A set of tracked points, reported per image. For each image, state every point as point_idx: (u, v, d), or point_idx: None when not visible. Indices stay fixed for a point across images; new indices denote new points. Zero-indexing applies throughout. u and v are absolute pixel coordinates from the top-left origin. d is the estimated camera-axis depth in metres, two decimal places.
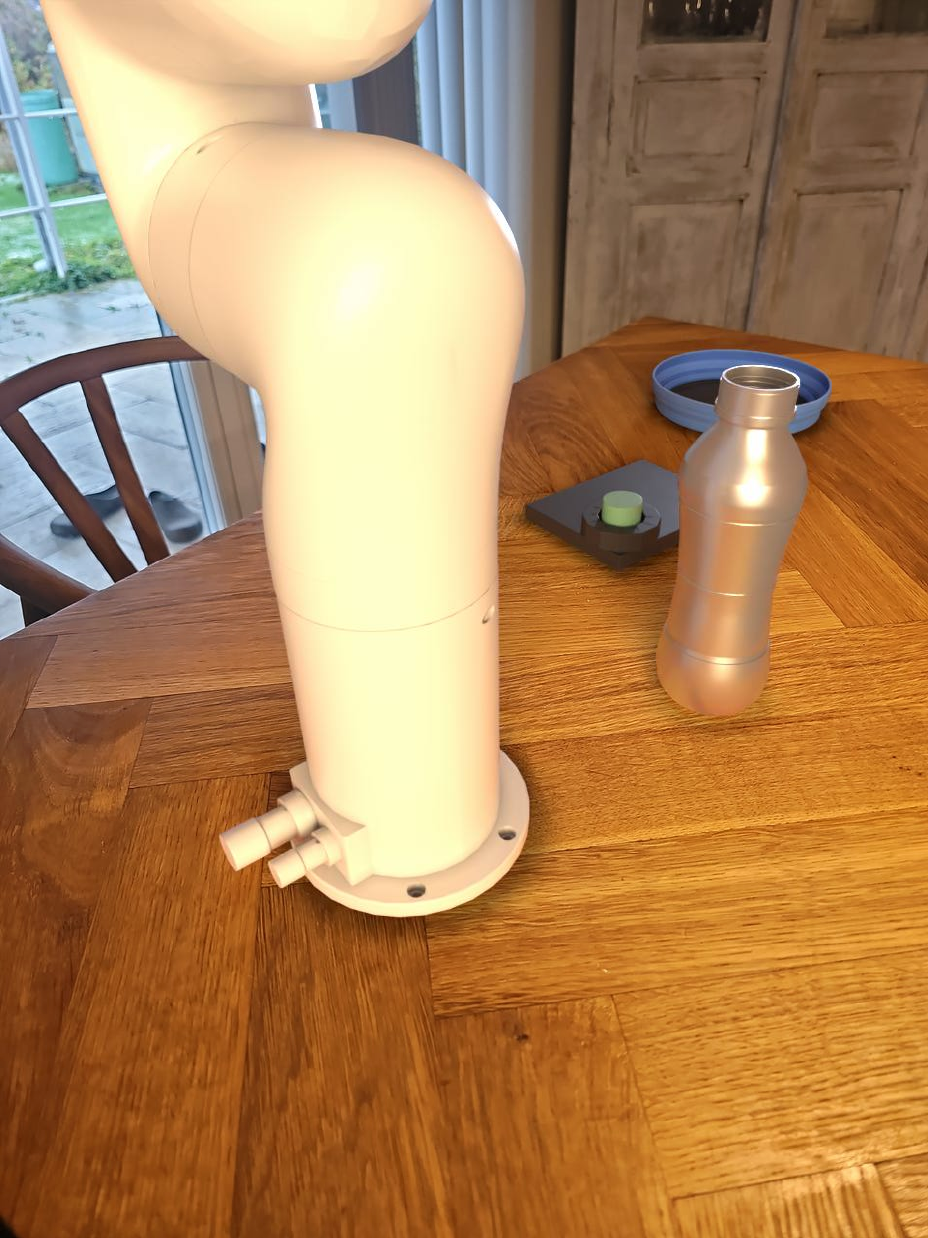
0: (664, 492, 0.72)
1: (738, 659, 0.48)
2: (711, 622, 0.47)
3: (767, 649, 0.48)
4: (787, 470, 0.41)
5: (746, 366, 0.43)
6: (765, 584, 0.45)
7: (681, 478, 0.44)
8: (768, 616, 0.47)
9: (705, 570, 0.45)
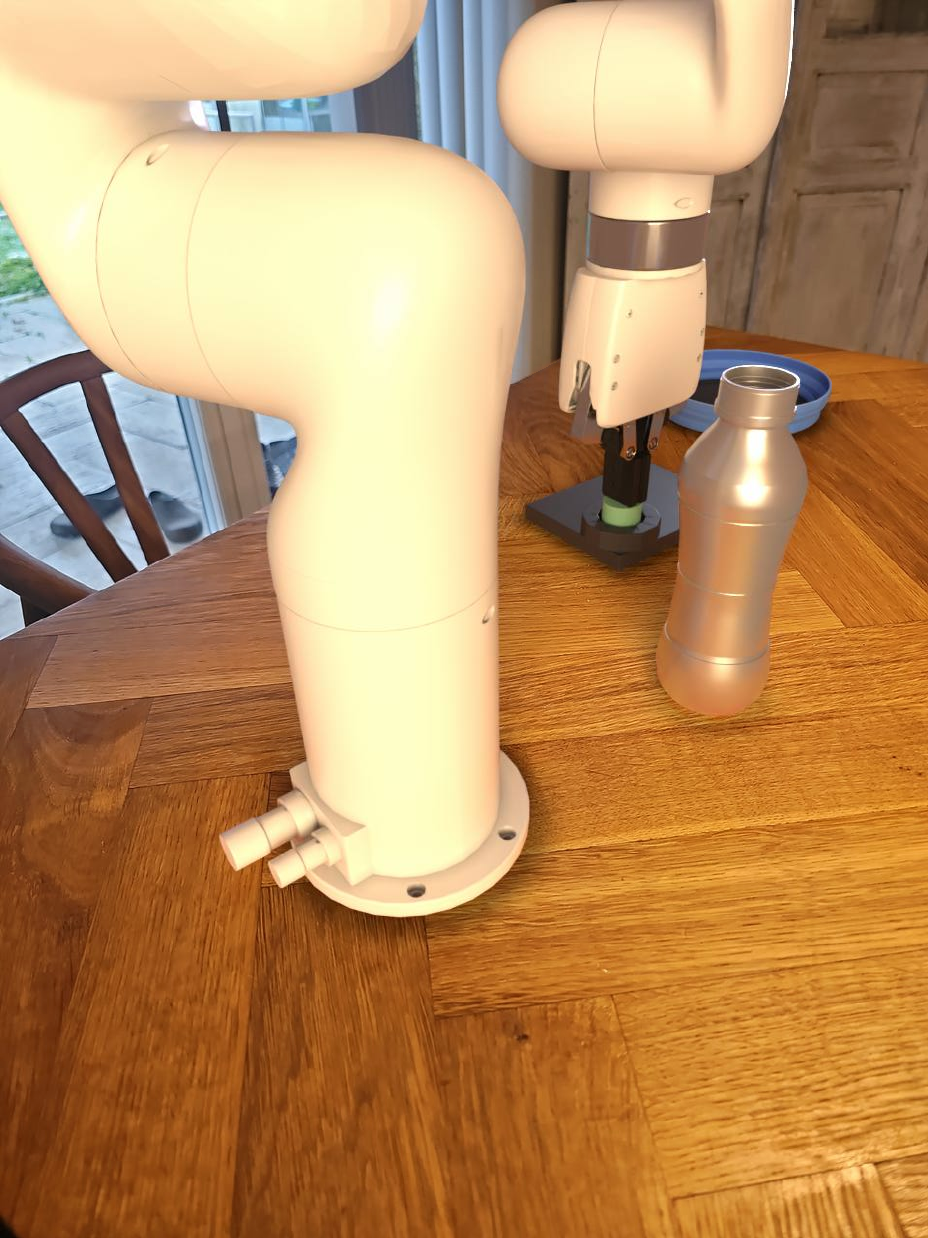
0: (664, 492, 0.72)
1: (738, 659, 0.48)
2: (711, 622, 0.47)
3: (767, 649, 0.48)
4: (787, 470, 0.41)
5: (745, 366, 0.43)
6: (765, 584, 0.45)
7: (681, 478, 0.44)
8: (768, 616, 0.47)
9: (705, 570, 0.45)
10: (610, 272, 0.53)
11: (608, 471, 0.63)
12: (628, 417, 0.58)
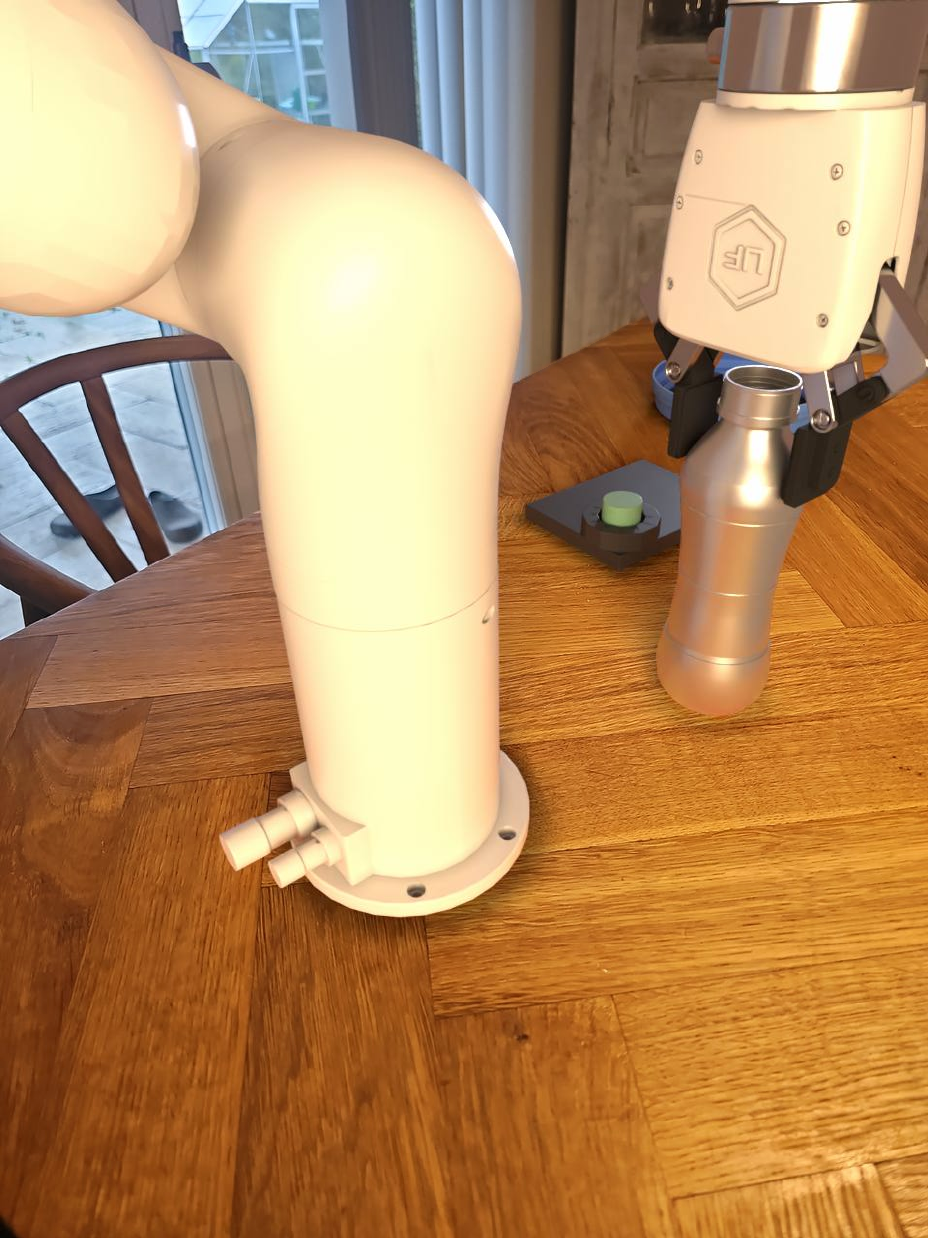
0: (664, 492, 0.72)
1: (738, 659, 0.48)
2: (712, 623, 0.47)
3: (767, 649, 0.48)
4: None
5: (749, 366, 0.42)
6: (766, 585, 0.45)
7: (683, 478, 0.44)
8: (769, 616, 0.47)
9: (706, 570, 0.45)
10: (907, 96, 0.32)
11: (830, 458, 0.39)
12: None
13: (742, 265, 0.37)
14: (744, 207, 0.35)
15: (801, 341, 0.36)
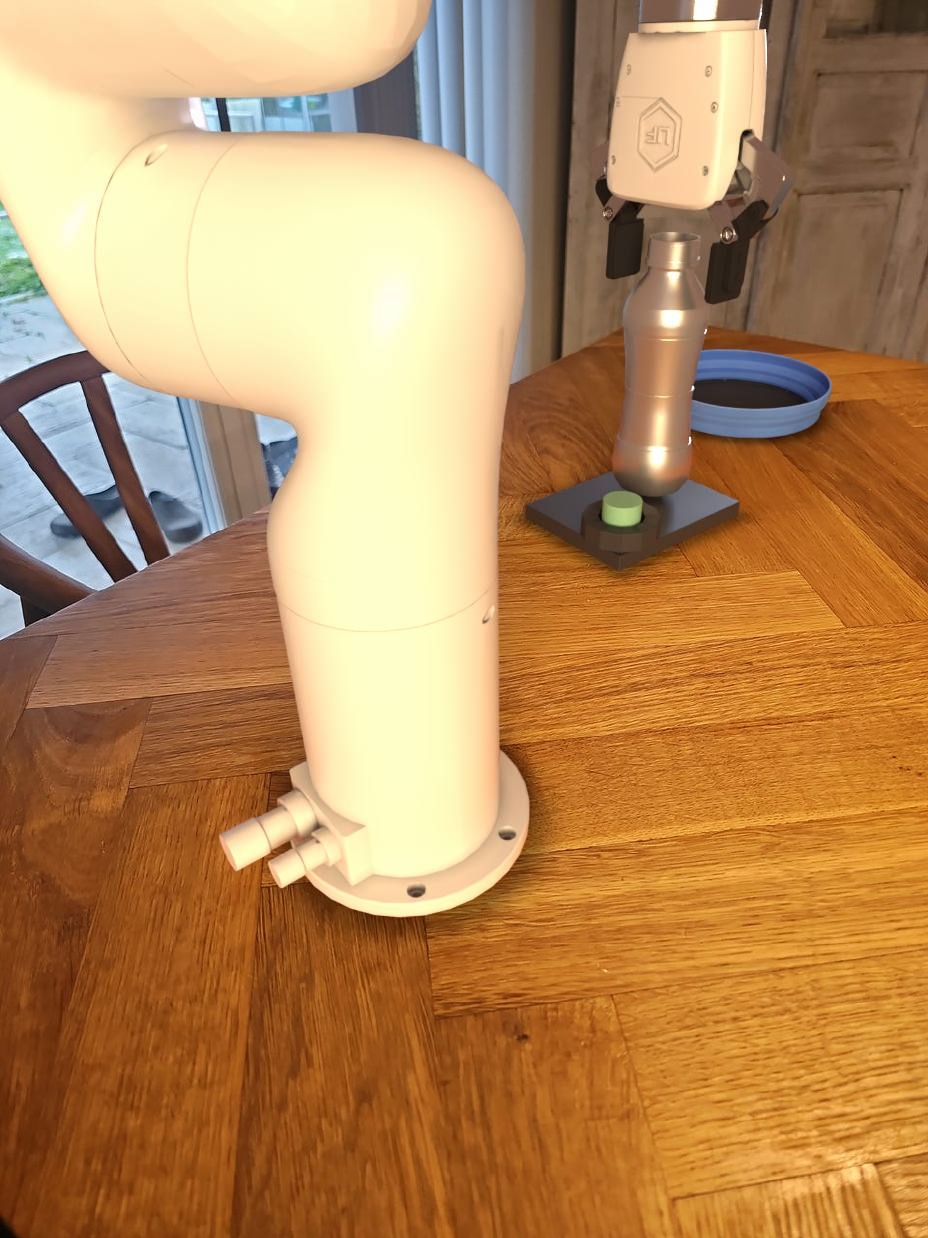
0: None
1: (667, 448, 0.68)
2: (647, 420, 0.67)
3: (688, 444, 0.69)
4: (693, 300, 0.61)
5: (667, 233, 0.63)
6: (683, 389, 0.65)
7: (624, 312, 0.64)
8: (687, 417, 0.67)
9: (641, 379, 0.65)
10: (752, 24, 0.52)
11: (735, 265, 0.57)
12: None
13: (657, 139, 0.56)
14: (656, 100, 0.55)
15: (693, 186, 0.55)
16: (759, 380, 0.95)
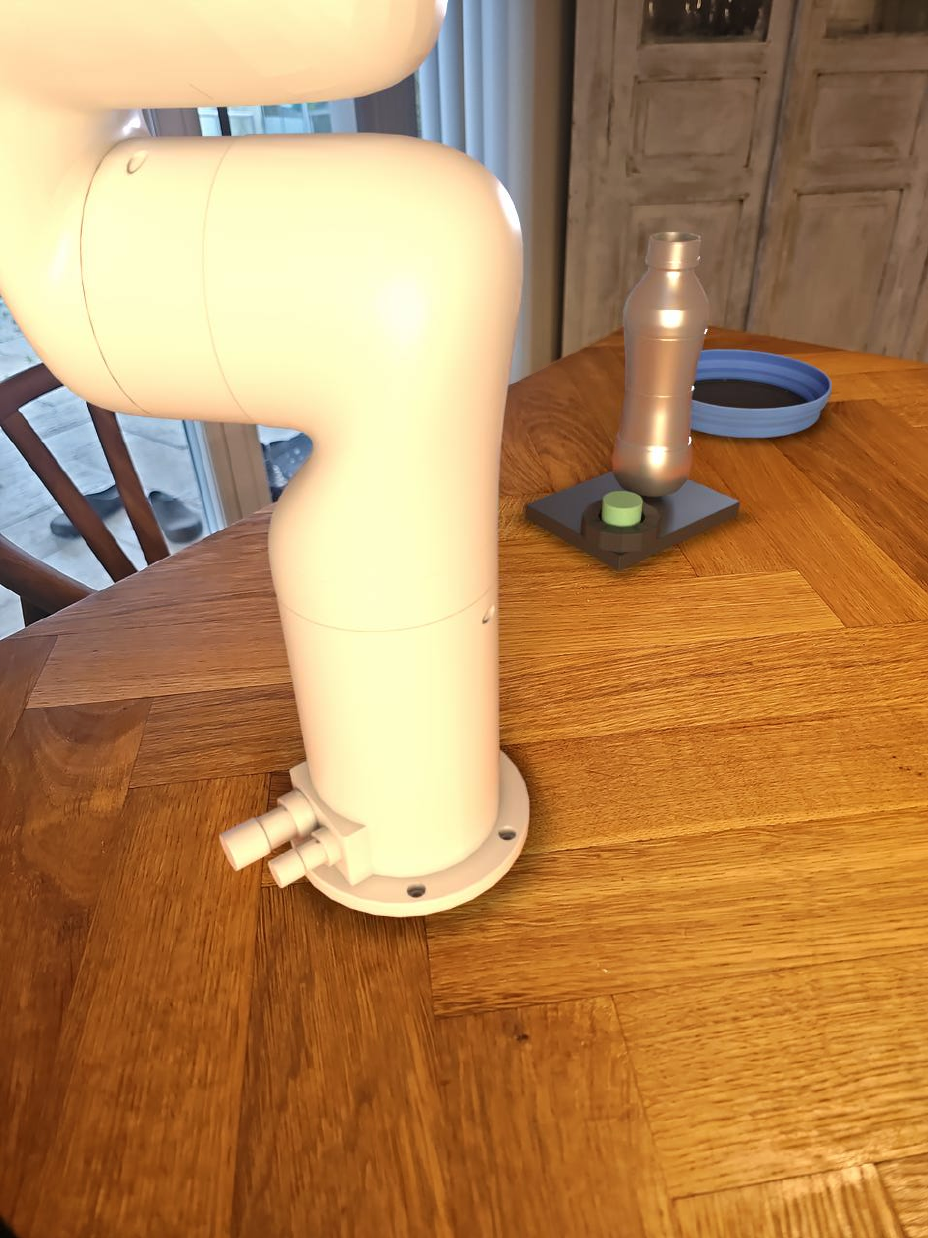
0: None
1: (667, 448, 0.68)
2: (647, 420, 0.67)
3: (688, 444, 0.69)
4: (693, 300, 0.61)
5: (667, 232, 0.63)
6: (683, 389, 0.65)
7: (624, 312, 0.64)
8: (687, 416, 0.67)
9: (641, 379, 0.65)
10: None
11: None
12: None
13: None
14: None
15: None
16: (759, 380, 0.95)
